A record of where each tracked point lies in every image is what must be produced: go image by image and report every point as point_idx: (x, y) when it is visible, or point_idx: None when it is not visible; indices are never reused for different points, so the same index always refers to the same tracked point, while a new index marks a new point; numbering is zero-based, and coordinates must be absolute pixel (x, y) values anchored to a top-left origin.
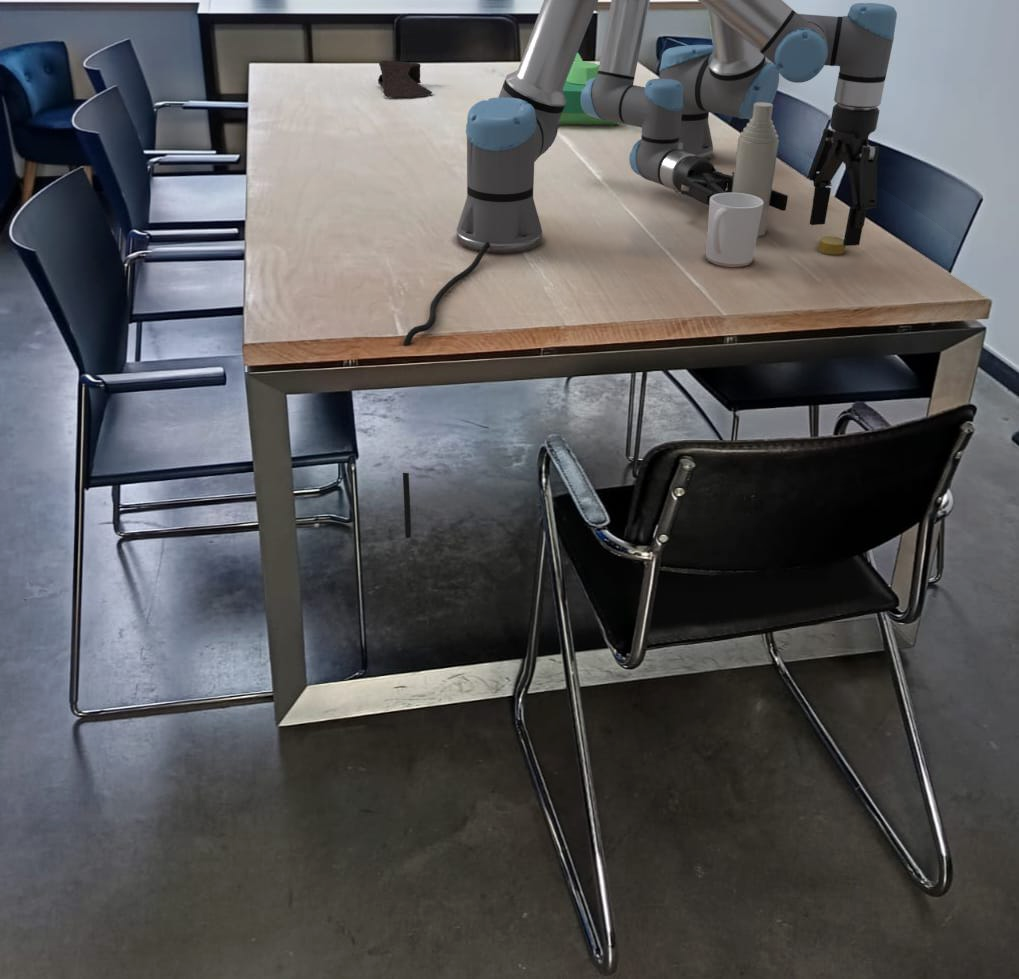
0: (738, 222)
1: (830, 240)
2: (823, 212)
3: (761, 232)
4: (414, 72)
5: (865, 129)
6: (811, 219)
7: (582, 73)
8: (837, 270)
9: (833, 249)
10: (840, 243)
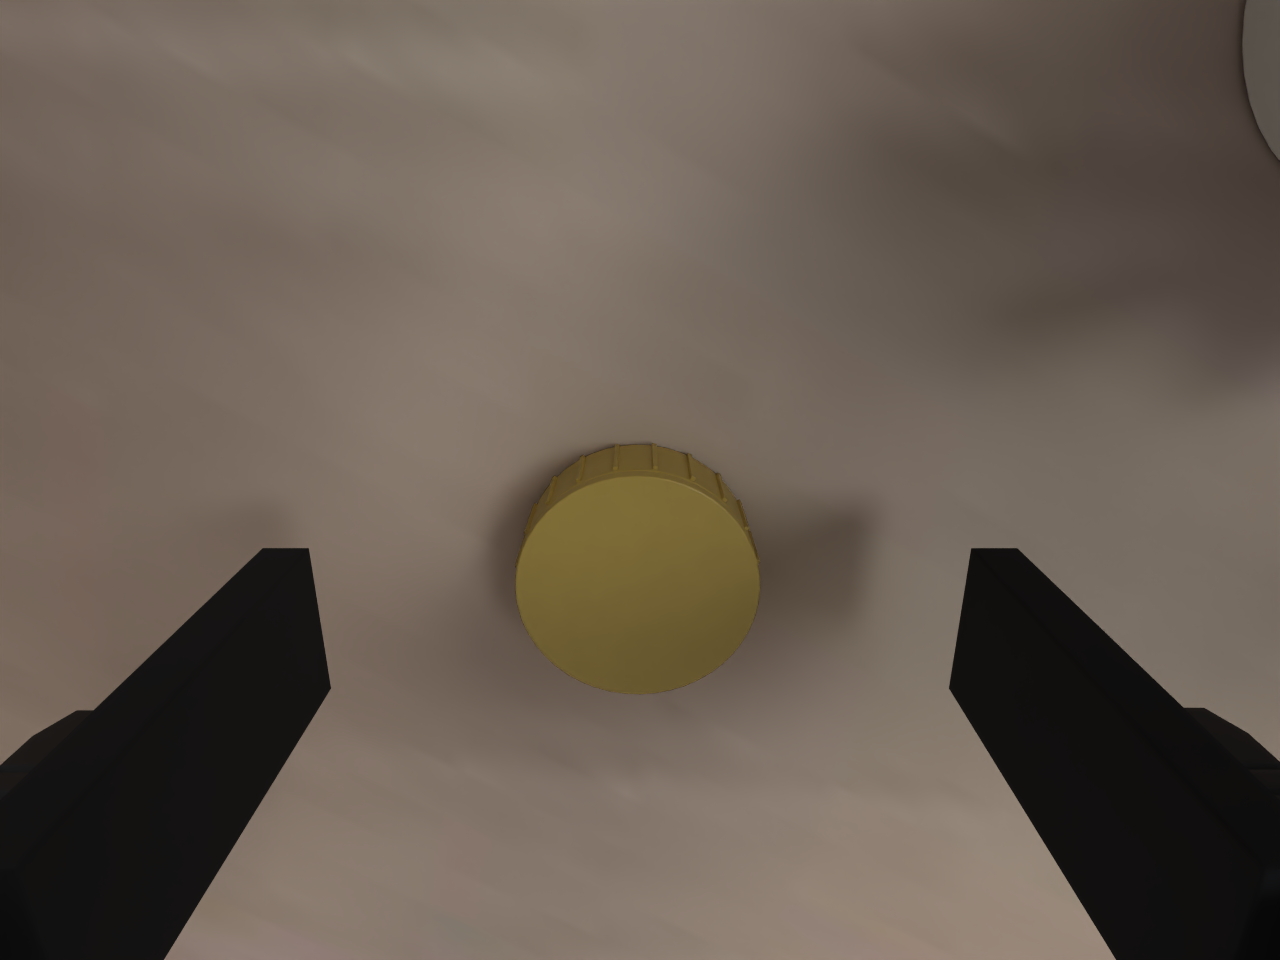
0: None
1: (642, 569)
2: (1010, 737)
3: (1272, 73)
4: None
5: None
6: (1016, 574)
7: None
8: (145, 346)
9: (529, 525)
10: (541, 613)
